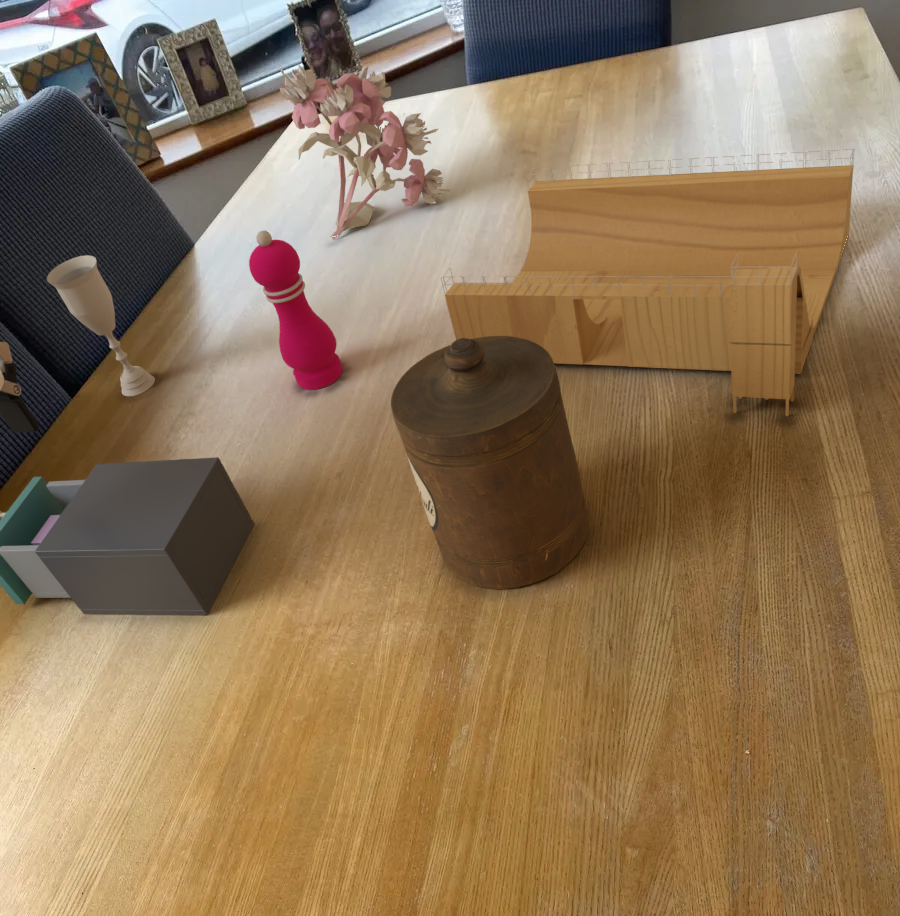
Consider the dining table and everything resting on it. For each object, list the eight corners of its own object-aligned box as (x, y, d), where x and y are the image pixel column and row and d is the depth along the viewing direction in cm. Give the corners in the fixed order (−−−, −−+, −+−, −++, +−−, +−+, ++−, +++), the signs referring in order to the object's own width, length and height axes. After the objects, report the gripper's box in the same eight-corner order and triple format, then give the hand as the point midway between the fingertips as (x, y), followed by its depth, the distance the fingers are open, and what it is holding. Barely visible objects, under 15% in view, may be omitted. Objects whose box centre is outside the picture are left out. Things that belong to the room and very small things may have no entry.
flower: (389, 257, 138) (398, 62, 126) (272, 237, 148) (270, 54, 136) (460, 248, 153) (474, 73, 142) (350, 230, 163) (354, 66, 152)
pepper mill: (286, 377, 125) (224, 235, 111) (334, 353, 126) (279, 209, 112) (305, 399, 120) (242, 254, 106) (354, 374, 121) (299, 227, 107)
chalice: (166, 384, 132) (102, 266, 119) (122, 407, 131) (52, 290, 118) (152, 364, 137) (89, 249, 124) (110, 386, 136) (41, 272, 123)
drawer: (-28, 603, 106) (-72, 555, 101) (28, 527, 114) (-10, 478, 109) (124, 604, 99) (86, 552, 94) (172, 523, 107) (140, 471, 102)
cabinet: (83, 614, 101) (34, 551, 95) (138, 526, 110) (96, 463, 103) (207, 615, 96) (164, 549, 90) (254, 523, 105) (218, 456, 98)
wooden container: (471, 481, 100) (415, 297, 85) (606, 490, 94) (572, 292, 79) (419, 582, 92) (346, 397, 76) (564, 599, 86) (517, 401, 70)
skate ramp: (849, 244, 115) (858, 105, 104) (789, 416, 95) (792, 267, 84) (546, 248, 133) (526, 131, 122) (440, 394, 113) (405, 269, 101)
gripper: (-81, 265, 90) (17, 410, 103) (-200, 371, 79) (-75, 519, 92) (-20, 257, 88) (73, 406, 100) (-134, 366, 77) (-14, 518, 89)
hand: (3, 460), depth 96 cm, fingers open, 9 cm apart
